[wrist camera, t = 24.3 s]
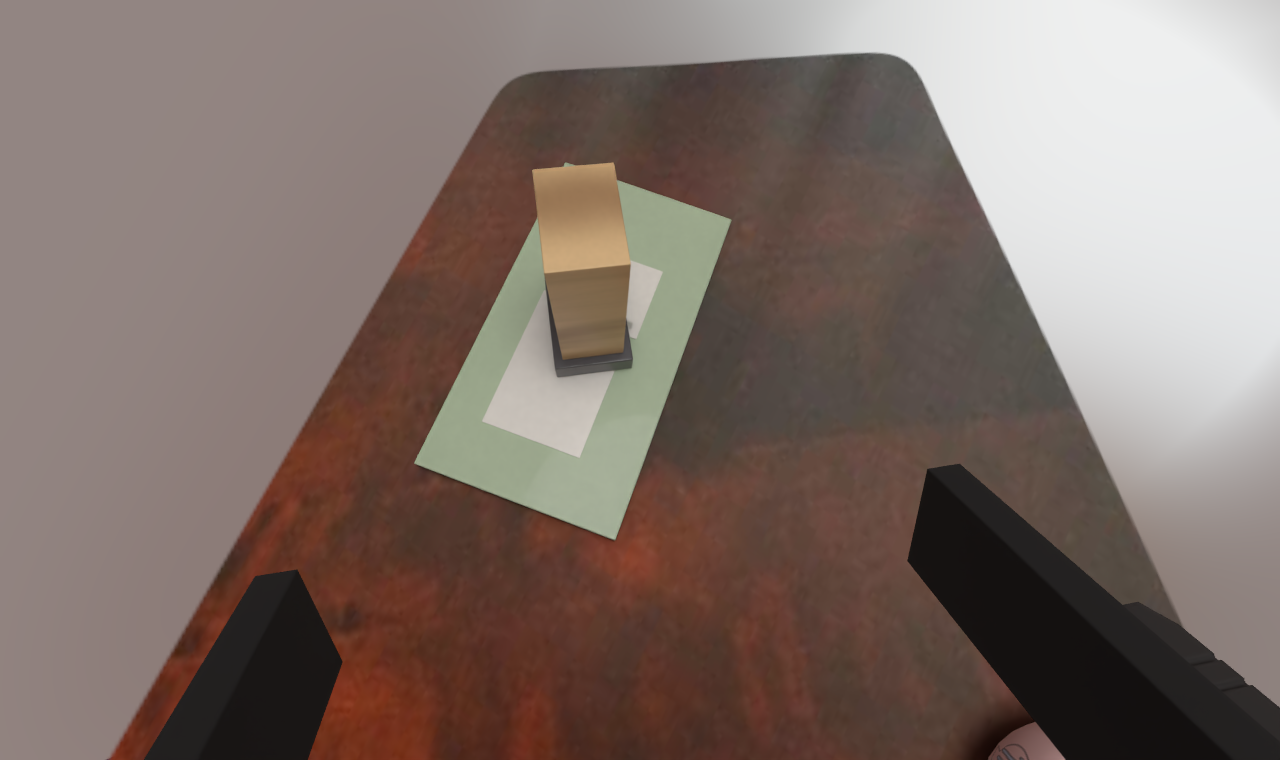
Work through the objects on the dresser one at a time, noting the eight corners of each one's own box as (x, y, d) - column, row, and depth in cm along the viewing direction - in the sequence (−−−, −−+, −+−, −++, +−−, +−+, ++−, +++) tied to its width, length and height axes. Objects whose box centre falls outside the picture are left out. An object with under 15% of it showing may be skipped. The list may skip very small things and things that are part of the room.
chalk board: (614, 540, 30) (615, 540, 30) (417, 465, 31) (412, 463, 30) (729, 224, 37) (732, 218, 37) (565, 167, 38) (565, 160, 37)
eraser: (632, 368, 33) (645, 273, 22) (557, 377, 32) (532, 286, 21) (618, 279, 35) (623, 151, 24) (546, 287, 34) (519, 160, 23)
